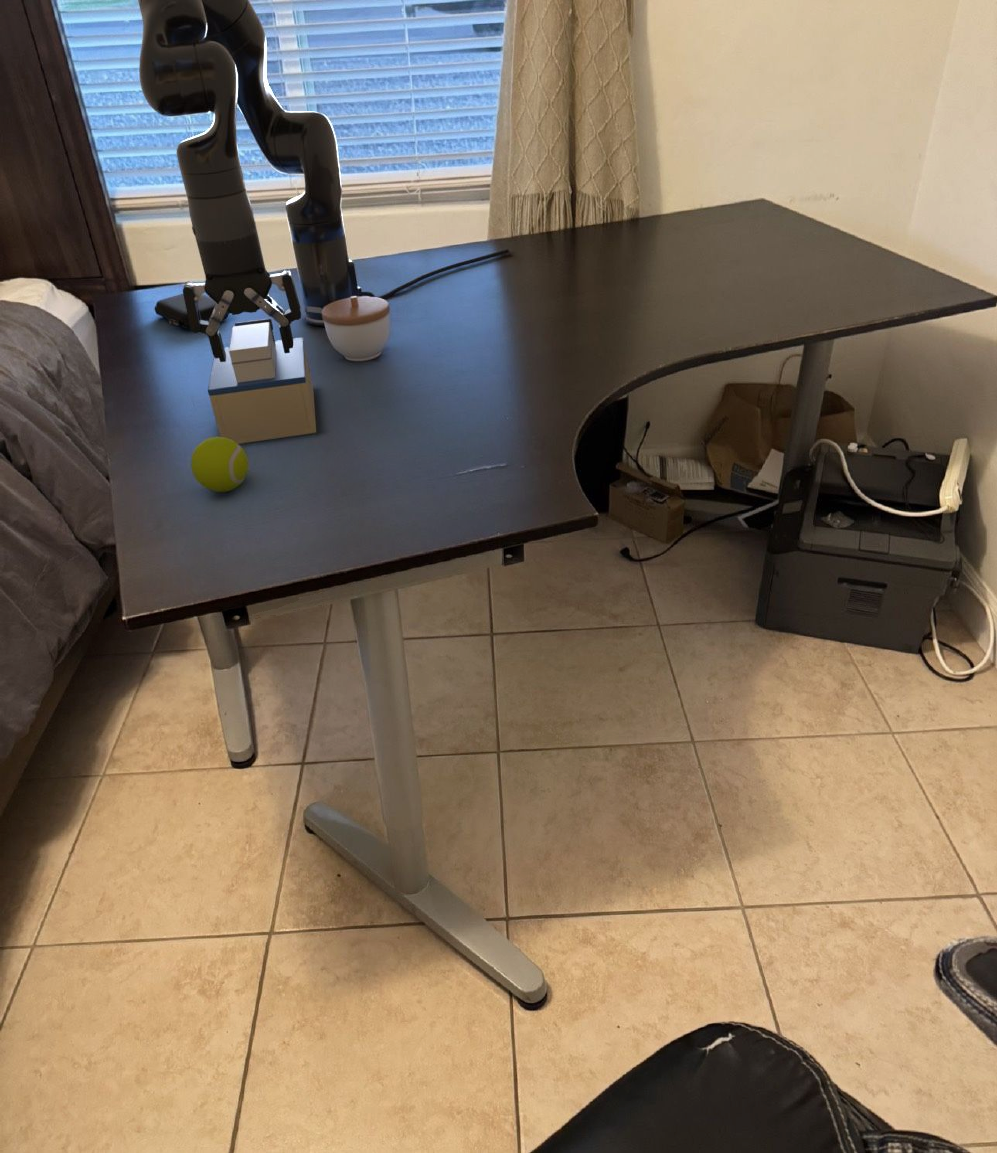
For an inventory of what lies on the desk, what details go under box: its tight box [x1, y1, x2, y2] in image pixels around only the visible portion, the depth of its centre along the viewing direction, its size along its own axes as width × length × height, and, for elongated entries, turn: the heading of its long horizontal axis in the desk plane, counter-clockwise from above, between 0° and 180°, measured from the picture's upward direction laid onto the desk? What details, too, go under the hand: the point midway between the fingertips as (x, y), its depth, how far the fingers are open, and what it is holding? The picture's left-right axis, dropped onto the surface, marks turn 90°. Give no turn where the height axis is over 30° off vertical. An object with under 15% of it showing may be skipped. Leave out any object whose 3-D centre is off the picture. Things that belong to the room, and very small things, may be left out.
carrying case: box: [154, 293, 231, 330], centre depth 161 cm, size 11×3×15 cm
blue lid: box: [207, 317, 306, 396], centre depth 119 cm, size 15×13×5 cm
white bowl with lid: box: [322, 296, 392, 362], centre depth 139 cm, size 11×11×9 cm
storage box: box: [208, 345, 317, 445], centre depth 122 cm, size 15×13×7 cm
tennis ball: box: [190, 436, 249, 493], centre depth 106 cm, size 7×7×7 cm
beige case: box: [229, 322, 276, 383], centre depth 117 cm, size 10×5×4 cm, turn 11°
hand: (255, 355), depth 117 cm, fingers open, 8 cm apart
